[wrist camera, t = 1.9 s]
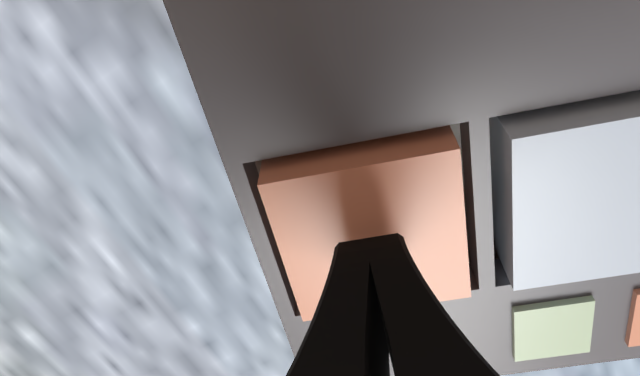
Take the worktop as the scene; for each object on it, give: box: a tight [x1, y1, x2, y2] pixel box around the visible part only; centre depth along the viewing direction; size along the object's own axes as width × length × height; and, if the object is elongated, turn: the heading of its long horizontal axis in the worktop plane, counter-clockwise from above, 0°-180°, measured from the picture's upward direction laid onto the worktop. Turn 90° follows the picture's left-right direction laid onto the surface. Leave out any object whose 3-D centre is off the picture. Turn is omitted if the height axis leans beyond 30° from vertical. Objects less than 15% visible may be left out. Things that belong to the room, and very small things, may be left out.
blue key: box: [489, 90, 640, 291], centre depth 12 cm, size 4×4×2 cm
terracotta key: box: [257, 125, 471, 322], centre depth 13 cm, size 4×4×2 cm
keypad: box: [163, 0, 640, 376], centre depth 13 cm, size 16×12×5 cm
